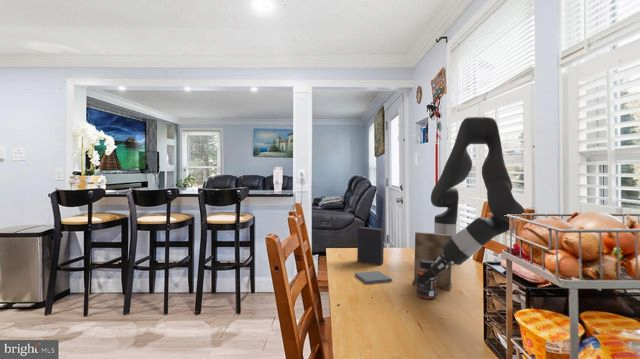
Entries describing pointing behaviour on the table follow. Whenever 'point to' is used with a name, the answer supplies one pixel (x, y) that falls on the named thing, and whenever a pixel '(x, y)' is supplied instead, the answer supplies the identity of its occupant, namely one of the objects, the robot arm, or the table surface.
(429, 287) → the supplement bottle
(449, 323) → the table surface
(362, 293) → the table surface
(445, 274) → the screen
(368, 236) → the dark gray upright block
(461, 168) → the robot arm
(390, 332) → the table surface
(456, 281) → the table surface
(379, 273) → the pad
